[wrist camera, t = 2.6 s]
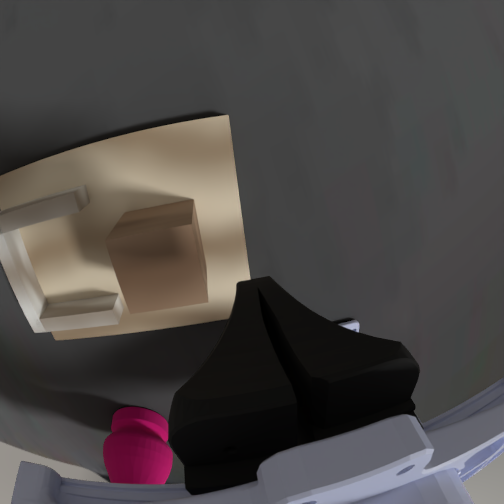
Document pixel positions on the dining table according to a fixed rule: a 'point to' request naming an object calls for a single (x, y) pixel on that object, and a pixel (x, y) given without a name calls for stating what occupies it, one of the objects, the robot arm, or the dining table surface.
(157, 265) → the block
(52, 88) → the dining table surface
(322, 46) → the dining table surface
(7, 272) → the board
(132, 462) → the pepper mill
